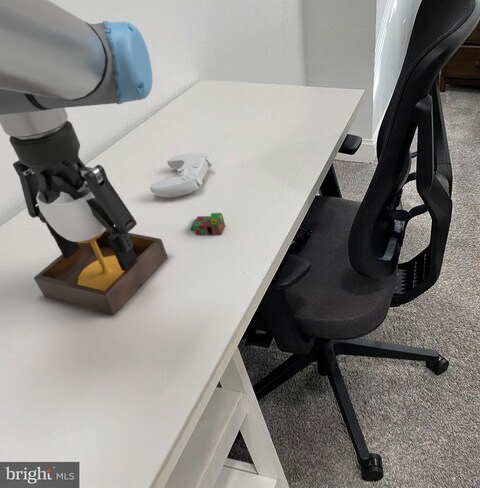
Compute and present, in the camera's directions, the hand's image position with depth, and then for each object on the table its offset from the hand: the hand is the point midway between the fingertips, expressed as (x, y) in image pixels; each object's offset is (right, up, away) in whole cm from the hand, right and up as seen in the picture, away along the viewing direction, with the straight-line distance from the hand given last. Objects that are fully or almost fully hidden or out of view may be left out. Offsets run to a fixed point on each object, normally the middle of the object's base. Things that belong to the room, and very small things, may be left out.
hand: (100, 259), depth 75 cm
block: (+14, +5, +11) cm, 19 cm away
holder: (0, -3, +2) cm, 4 cm away
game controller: (+6, +15, +25) cm, 30 cm away
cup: (0, -3, +2) cm, 3 cm away
